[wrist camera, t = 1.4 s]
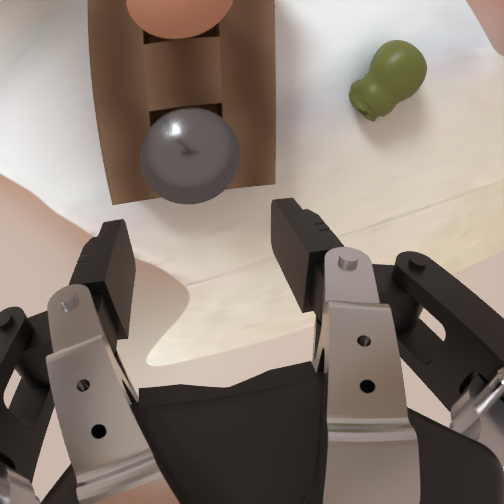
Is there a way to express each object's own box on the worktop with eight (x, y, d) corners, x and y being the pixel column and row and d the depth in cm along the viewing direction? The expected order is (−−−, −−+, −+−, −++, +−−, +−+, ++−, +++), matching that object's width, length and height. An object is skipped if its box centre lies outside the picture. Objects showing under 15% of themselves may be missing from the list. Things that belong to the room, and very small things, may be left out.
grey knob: (153, 181, 24) (148, 210, 20) (143, 106, 21) (133, 116, 16) (229, 172, 26) (241, 198, 21) (226, 97, 22) (238, 104, 17)
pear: (444, 71, 22) (389, 139, 27) (416, 60, 26) (367, 120, 31) (412, 33, 20) (352, 107, 25) (384, 27, 24) (331, 92, 29)
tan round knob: (139, 50, 18) (127, 45, 14) (137, -22, 15) (126, -43, 10) (224, 41, 19) (236, 34, 15) (222, -30, 16) (234, -53, 11)
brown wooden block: (121, 183, 28) (112, 205, 24) (102, -12, 17) (88, -25, 13) (261, 166, 31) (275, 184, 26) (257, -27, 19) (272, -42, 15)
